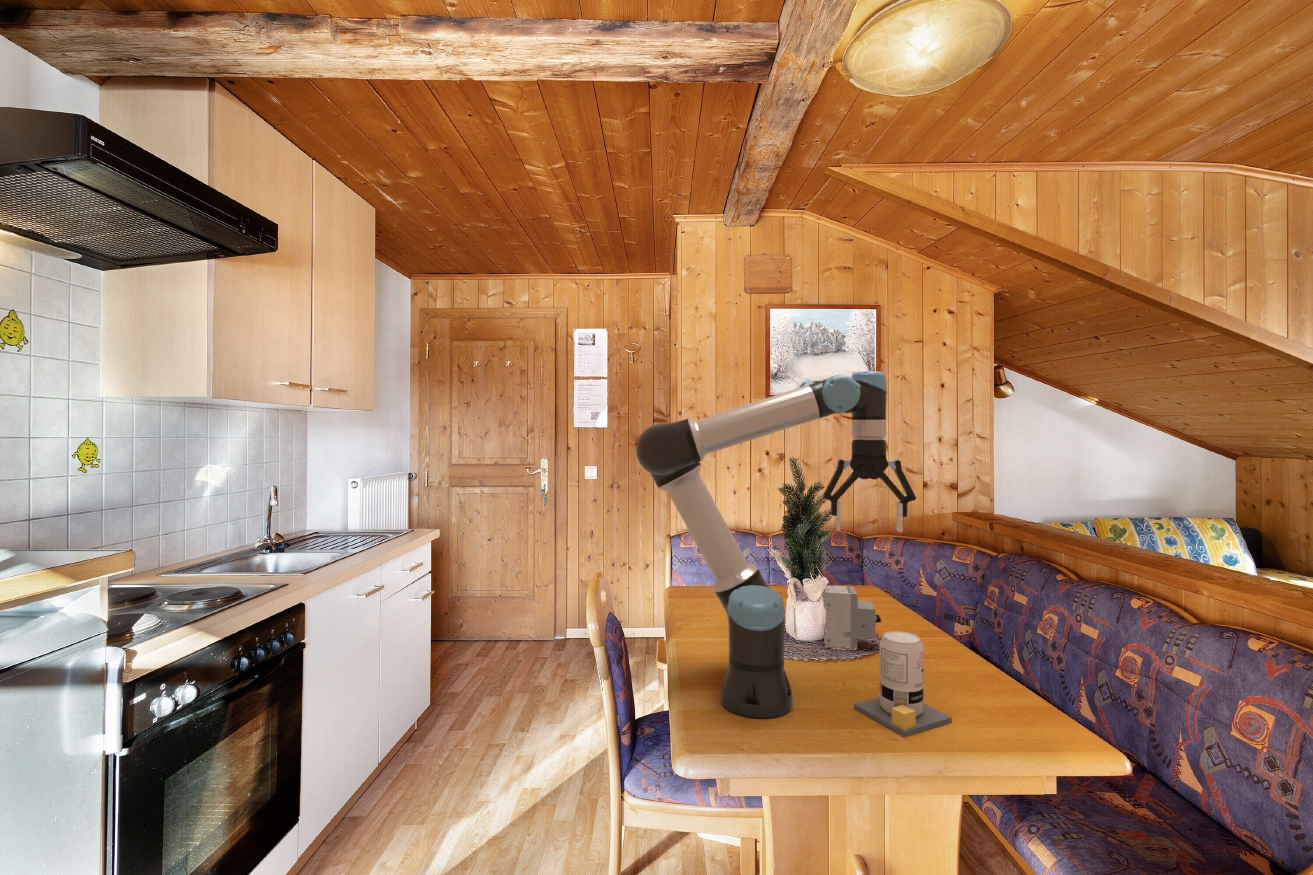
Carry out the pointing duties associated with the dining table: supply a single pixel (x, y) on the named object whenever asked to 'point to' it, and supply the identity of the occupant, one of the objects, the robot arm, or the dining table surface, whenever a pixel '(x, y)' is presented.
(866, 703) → the pad
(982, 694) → the dining table surface
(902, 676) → the supplement can
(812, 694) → the dining table surface
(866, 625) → the circuit breaker
